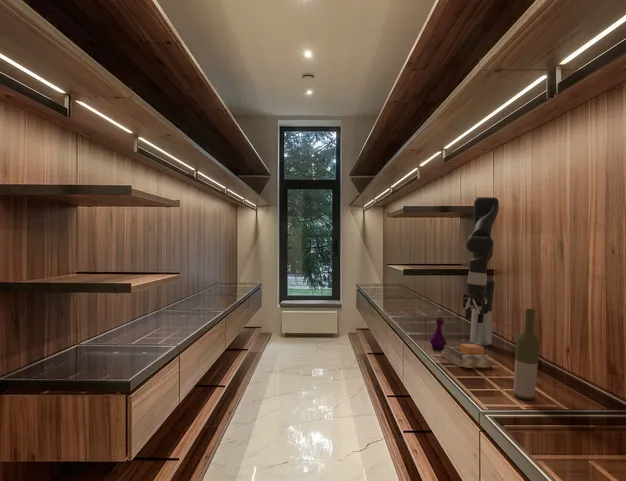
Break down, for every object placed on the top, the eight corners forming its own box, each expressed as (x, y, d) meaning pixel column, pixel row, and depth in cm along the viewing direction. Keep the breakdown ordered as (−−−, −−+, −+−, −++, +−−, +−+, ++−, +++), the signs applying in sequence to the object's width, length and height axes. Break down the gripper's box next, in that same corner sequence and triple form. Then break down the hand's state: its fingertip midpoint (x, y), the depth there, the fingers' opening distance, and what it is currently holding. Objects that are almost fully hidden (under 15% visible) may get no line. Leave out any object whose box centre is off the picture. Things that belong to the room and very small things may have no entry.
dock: (470, 356, 179) (471, 344, 179) (491, 367, 166) (492, 354, 166) (441, 356, 176) (441, 344, 176) (459, 367, 162) (460, 354, 162)
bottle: (526, 393, 139) (533, 307, 138) (540, 401, 132) (547, 312, 132) (507, 392, 138) (514, 307, 138) (520, 401, 131) (527, 311, 131)
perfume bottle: (446, 351, 185) (449, 312, 185) (429, 349, 187) (432, 311, 187) (444, 346, 193) (447, 309, 192) (428, 344, 194) (431, 308, 194)
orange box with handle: (475, 352, 175) (476, 342, 175) (483, 356, 170) (483, 345, 170) (459, 353, 173) (460, 342, 173) (466, 356, 168) (467, 345, 168)
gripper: (495, 285, 165) (492, 324, 165) (474, 280, 178) (471, 317, 179) (479, 285, 163) (476, 324, 163) (459, 280, 177) (456, 316, 177)
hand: (473, 320), depth 171 cm, fingers open, 7 cm apart
